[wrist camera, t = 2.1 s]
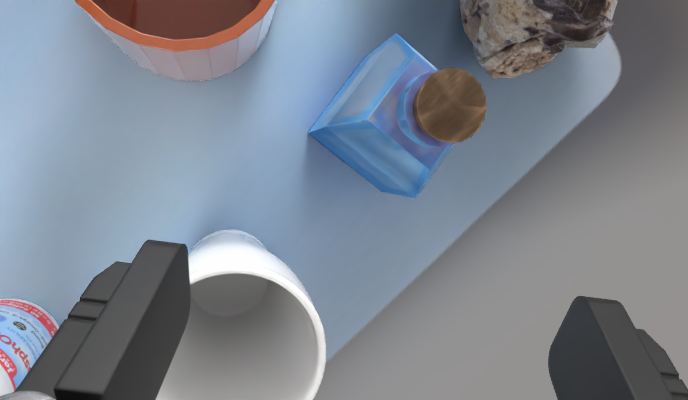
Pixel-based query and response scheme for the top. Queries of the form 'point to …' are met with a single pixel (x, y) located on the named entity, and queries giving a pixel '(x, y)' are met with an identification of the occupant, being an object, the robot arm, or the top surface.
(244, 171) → the top surface
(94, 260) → the top surface
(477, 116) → the perfume bottle
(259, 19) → the orange flower pot
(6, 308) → the pill bottle
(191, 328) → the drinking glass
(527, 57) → the rock
